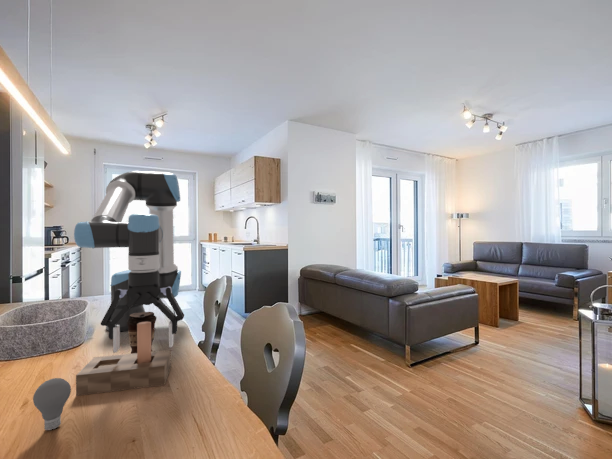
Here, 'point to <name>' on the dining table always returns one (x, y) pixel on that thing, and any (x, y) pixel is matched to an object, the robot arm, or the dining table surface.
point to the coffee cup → (132, 327)
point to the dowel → (143, 342)
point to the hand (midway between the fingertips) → (144, 348)
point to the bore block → (123, 373)
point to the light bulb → (52, 401)
